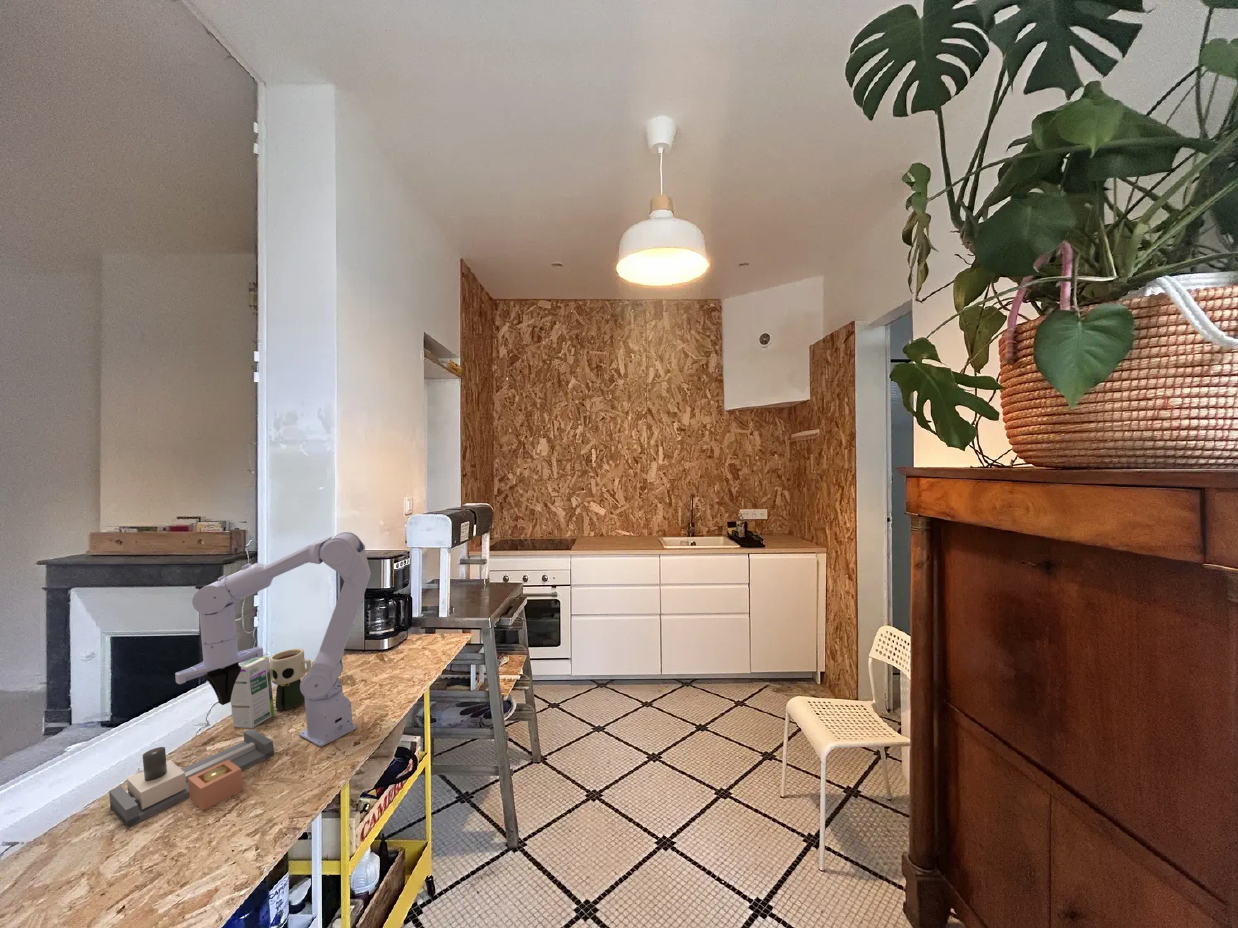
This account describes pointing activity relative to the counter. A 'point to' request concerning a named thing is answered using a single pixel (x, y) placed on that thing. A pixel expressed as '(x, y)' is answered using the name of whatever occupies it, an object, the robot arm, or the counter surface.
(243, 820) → the counter surface
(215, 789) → the box
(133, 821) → the rail
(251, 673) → the syrup box
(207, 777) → the button
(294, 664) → the character mug
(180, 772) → the carriage
